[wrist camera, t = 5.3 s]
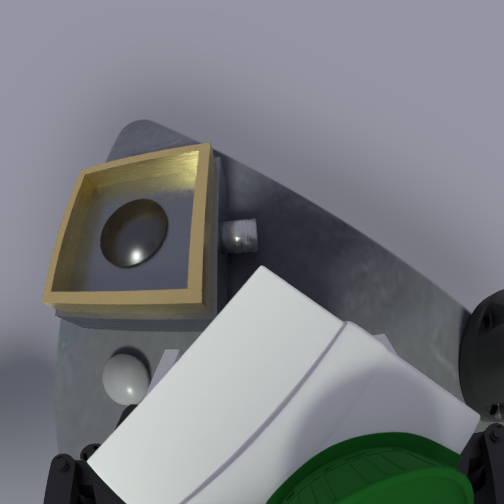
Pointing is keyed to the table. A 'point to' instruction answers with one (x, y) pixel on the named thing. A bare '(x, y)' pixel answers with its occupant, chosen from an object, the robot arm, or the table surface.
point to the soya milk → (289, 416)
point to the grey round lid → (126, 379)
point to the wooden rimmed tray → (147, 243)
